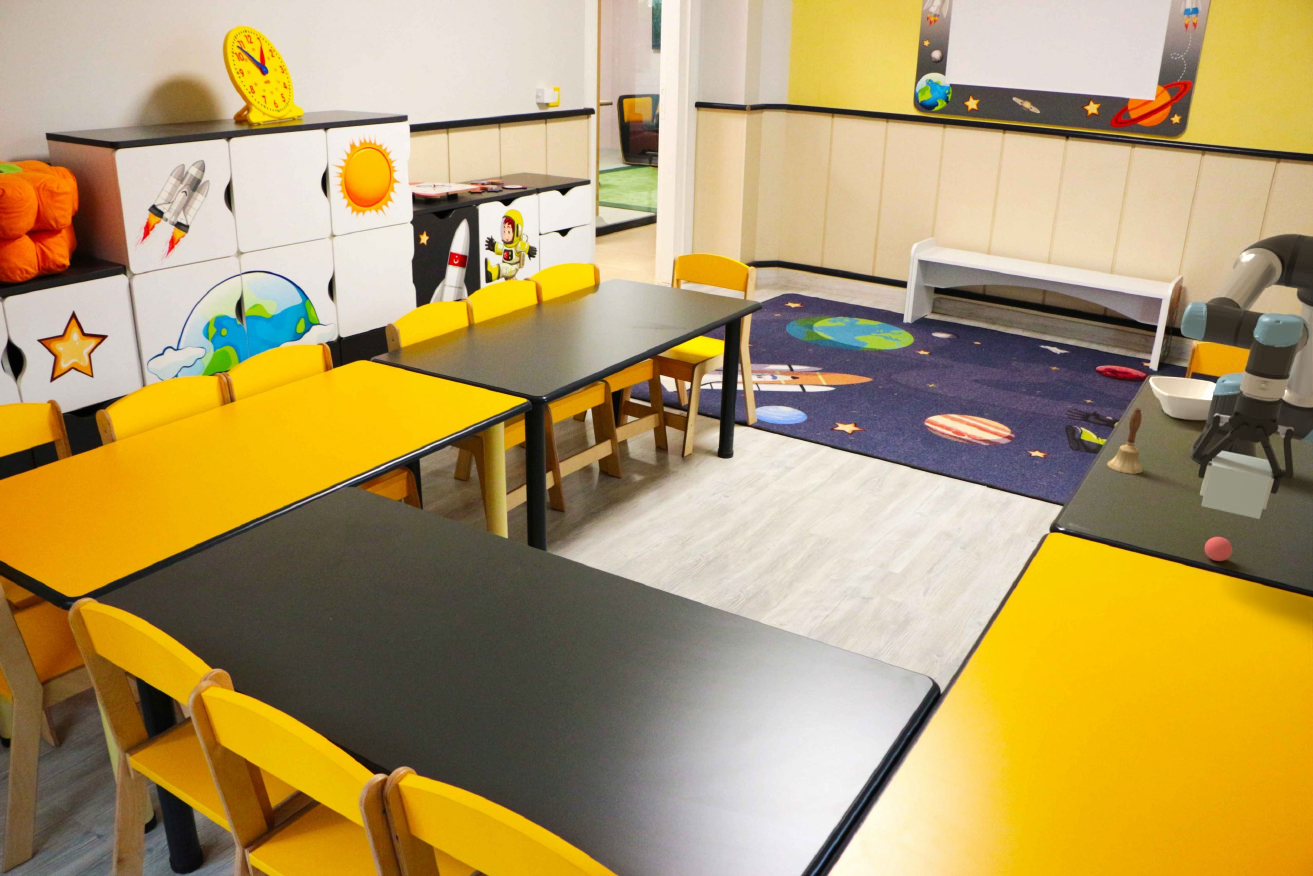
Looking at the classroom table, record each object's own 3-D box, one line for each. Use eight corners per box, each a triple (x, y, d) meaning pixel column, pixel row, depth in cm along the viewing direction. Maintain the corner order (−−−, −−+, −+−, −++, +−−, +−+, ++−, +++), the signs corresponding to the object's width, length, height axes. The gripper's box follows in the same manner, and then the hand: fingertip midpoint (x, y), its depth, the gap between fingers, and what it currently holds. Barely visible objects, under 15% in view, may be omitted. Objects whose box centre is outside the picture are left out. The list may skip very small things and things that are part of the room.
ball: (1213, 551, 207) (1208, 567, 210) (1238, 548, 207) (1233, 564, 210) (1203, 533, 211) (1198, 549, 214) (1228, 530, 210) (1223, 546, 214)
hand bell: (1146, 476, 252) (1160, 415, 247) (1110, 472, 254) (1124, 412, 248) (1138, 463, 260) (1152, 404, 254) (1104, 459, 261) (1116, 401, 256)
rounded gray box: (1205, 488, 210) (1215, 449, 207) (1261, 500, 206) (1272, 460, 202) (1201, 506, 202) (1211, 465, 199) (1259, 519, 197) (1271, 477, 194)
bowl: (1156, 424, 288) (1163, 396, 285) (1136, 401, 307) (1142, 374, 304) (1233, 431, 286) (1241, 402, 282) (1209, 407, 305) (1216, 380, 301)
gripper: (1193, 388, 198) (1168, 492, 206) (1330, 412, 187) (1297, 521, 195) (1196, 378, 204) (1171, 480, 212) (1329, 401, 193) (1297, 507, 201)
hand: (1232, 499), depth 204 cm, fingers closed on rounded gray box, 10 cm apart
